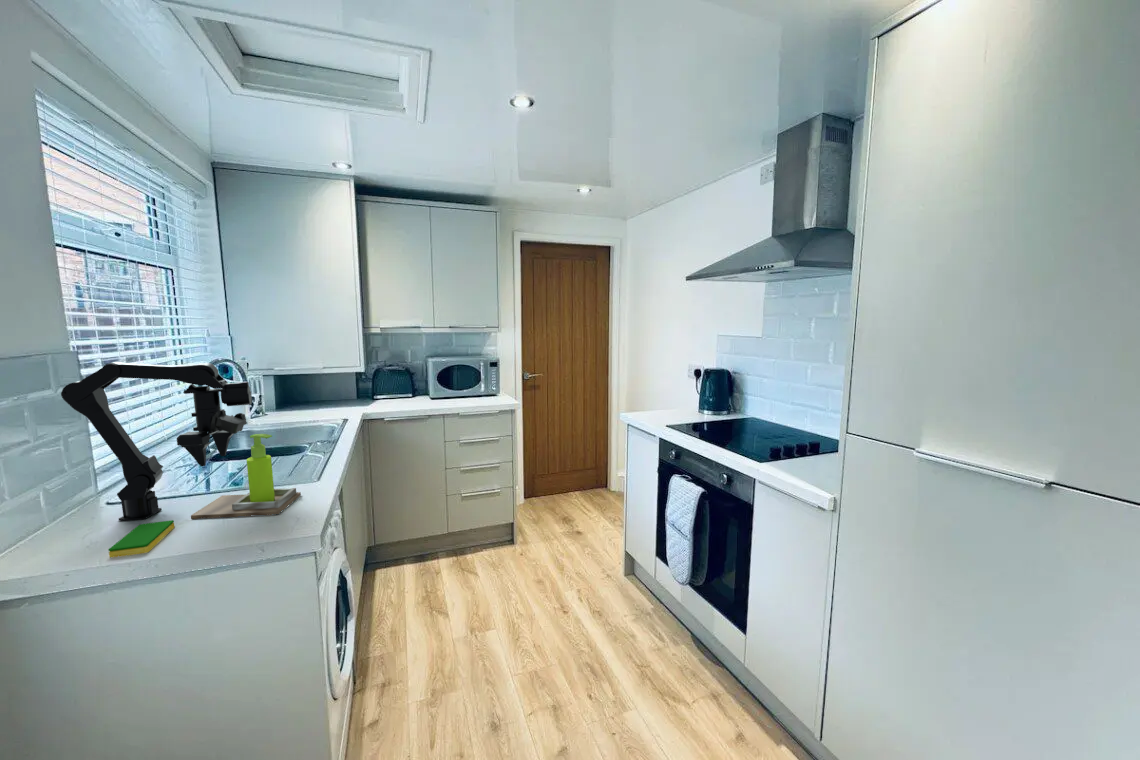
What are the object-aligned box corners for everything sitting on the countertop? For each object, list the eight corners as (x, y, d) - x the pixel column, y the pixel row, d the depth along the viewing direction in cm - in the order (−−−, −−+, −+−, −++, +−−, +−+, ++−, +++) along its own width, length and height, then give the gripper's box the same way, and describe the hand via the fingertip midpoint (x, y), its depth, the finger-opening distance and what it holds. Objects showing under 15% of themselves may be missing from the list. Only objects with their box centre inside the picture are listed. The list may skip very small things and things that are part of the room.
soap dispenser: (268, 505, 130) (262, 437, 128) (245, 505, 131) (239, 436, 128) (282, 497, 136) (277, 432, 133) (260, 497, 137) (254, 431, 134)
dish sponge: (108, 559, 104) (107, 549, 104) (141, 532, 117) (140, 523, 117) (147, 554, 107) (146, 544, 106) (175, 528, 120) (174, 519, 119)
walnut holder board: (191, 518, 124) (189, 509, 124) (222, 498, 138) (221, 490, 138) (278, 514, 127) (277, 505, 127) (300, 495, 141) (300, 487, 140)
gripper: (218, 414, 122) (224, 470, 124) (256, 401, 140) (260, 450, 143) (172, 415, 121) (178, 472, 123) (216, 401, 139) (221, 451, 141)
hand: (213, 460), depth 132 cm, fingers open, 9 cm apart
